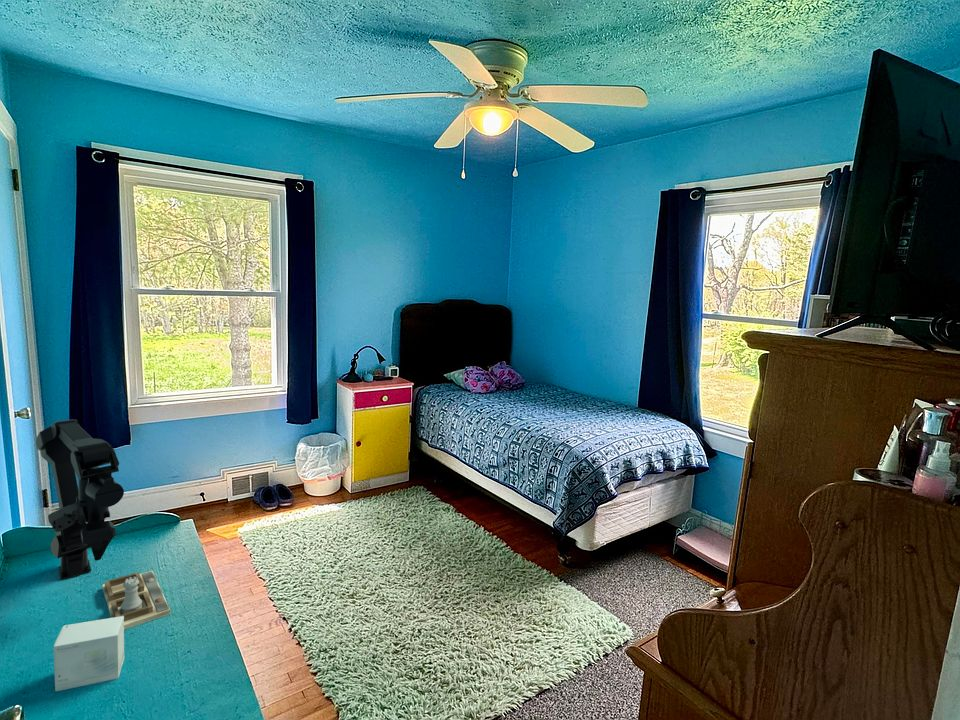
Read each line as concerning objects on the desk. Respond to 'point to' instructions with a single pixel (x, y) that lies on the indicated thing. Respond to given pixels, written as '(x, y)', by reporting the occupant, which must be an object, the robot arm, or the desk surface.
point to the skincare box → (89, 653)
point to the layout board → (148, 594)
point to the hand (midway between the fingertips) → (95, 551)
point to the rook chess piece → (131, 596)
